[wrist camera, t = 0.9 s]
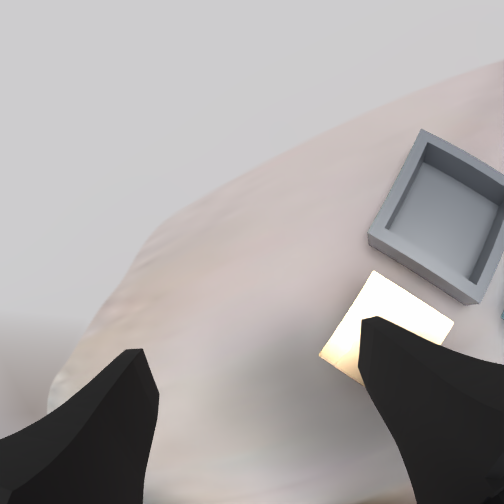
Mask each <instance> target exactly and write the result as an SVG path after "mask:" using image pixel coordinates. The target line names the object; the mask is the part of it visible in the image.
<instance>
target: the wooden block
mask: <svg viewBox="0 0 504 504" xmlns="http://www.w3.org/2000/svg"><path fill="white" fill-rule="evenodd" d="M374 316H380V317H382V318H384V319H386V320H389V321H391V322H393V323H395V324H397V325H399V326H401V327H403V328H405V329H407V330H409V331H411V332H413V333H415V334H417V335H419V336H421V337H423V338H425V339H427V340H429V341H431V342H434V343H436V344H438V345H441V344H442V342H443V340H444V339H445V337H446V335H447V334H448V332H449V330H450V329H451V327H452V325H453V323H454V322H453V321H451V320H450V319H448V318H447V317H445V316H444V315H442V314H441V313H439V312H438V311H436V310H435V309H433V308H432V307H430V306H428V305H427V304H425V303H424V302H422V301H421V300H419V299H418V298H416V297H415V296H413V295H411V294H410V293H408V292H407V291H405V290H404V289H402V288H400V287H399V286H397V285H396V284H394V283H393V282H391V281H389V280H388V279H386V278H385V277H383V276H381V275H380V274H378V273H376V272H375V271H373V272H372V274H371V276H370V277H369V279H368V281H367V282H366V284H365V285H364V287H363V289H362V290H361V292H360V294H359V295H358V297H357V298H356V300H355V302H354V303H353V305H352V306H351V308H350V309H349V311H348V312H347V314H346V316H345V317H344V319H343V320H342V322H341V323H340V325H339V326H338V328H337V329H336V331H335V332H334V334H333V335H332V337H331V338H330V339H329V341H328V342H327V344H326V345H325V347H324V348H323V349H322V351H321V352H320V354H319V356H320V357H321V358H323V359H324V360H326V361H327V362H329V363H330V364H332V365H333V366H335V367H336V368H337V369H339V370H340V371H342V372H343V373H345V374H346V375H348V376H349V377H351V378H352V379H354V380H355V381H357V382H358V383H360V384H361V385H363V386H364V387H365V385H364V382H363V380H362V377H361V374H360V372H359V369H358V358H359V346H360V332H361V319H365V318H370V317H374Z"/></svg>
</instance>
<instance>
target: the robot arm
mask: <svg viewBox="0 0 504 504" xmlns="http://www.w3.org/2000/svg"><path fill="white" fill-rule="evenodd" d="M358 369H359V372H360V374H361V377H362V380H363V382H364V385H365V387H366V389H367V392H368V393H369V395H370V397H371V399H372V401H373V402H374V404H375V406H376V408H377V409H378V411H379V413H380V415H381V416H382V418H383V420H384V422H385V423H386V425H387V427H388V429H389V430H390V432H391V434H392V436H393V438H394V440H395V442H396V444H397V446H398V448H399V451H400V453H401V456H402V458H403V461H404V464H405V466H406V469H407V472H408V475H409V478H410V481H411V484H412V487H413V490H414V494H415V497H416V501H417V504H504V365H502V364H497V363H492V362H488V361H484V360H480V359H477V358H473V357H470V356H467V355H464V354H461V353H458V352H455V351H453V350H450V349H448V348H445V347H443V346H440V345H438V344H436V343H434V342H431V341H429V340H427V339H425V338H423V337H421V336H419V335H417V334H415V333H413V332H411V331H409V330H407V329H405V328H403V327H401V326H399V325H397V324H395V323H393V322H391V321H389V320H386V319H384V318H382V317H380V316H374V317H370V318H365V319H361V332H360V346H359V358H358ZM158 405H159V392H158V389H157V386H156V384H155V381H154V379H153V376H152V373H151V370H150V368H149V365H148V362H147V359H146V357H145V354H144V351H143V349H126V350H125V351H124V352H122V353H121V354H120V355H119V356H118V357H116V358H115V359H114V360H113V361H112V362H111V363H110V364H109V365H108V366H107V367H105V368H104V369H103V370H102V371H101V372H100V373H99V374H98V375H97V376H96V377H95V378H93V379H92V380H91V381H90V382H89V383H88V384H87V385H86V386H84V387H83V388H82V389H81V390H80V391H78V392H77V393H76V394H75V395H74V396H72V397H71V398H70V399H69V400H68V401H66V402H65V403H64V404H62V405H61V406H60V407H58V408H57V409H56V410H54V411H53V412H51V413H50V414H48V415H47V416H45V417H44V418H42V419H40V420H39V421H37V422H35V423H33V424H31V425H30V426H28V427H26V428H24V429H22V430H21V431H18V432H16V433H14V434H12V435H10V436H7V437H5V438H3V439H0V504H143V488H144V478H145V472H146V467H147V462H148V458H149V453H150V449H151V444H152V440H153V436H154V431H155V427H156V422H157V416H158Z"/></svg>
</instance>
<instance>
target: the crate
mask: <svg viewBox="0 0 504 504" xmlns="http://www.w3.org/2000/svg"><path fill="white" fill-rule="evenodd" d="M367 233H368V241H369V245H371V246H372V247H374V248H376V249H377V250H379V251H381V252H382V253H384V254H386V255H387V256H389V257H391V258H392V259H394V260H396V261H397V262H399V263H400V264H402V265H404V266H405V267H407V268H409V269H410V270H412V271H413V272H415V273H416V274H418V275H420V276H421V277H423V278H424V279H426V280H428V281H429V282H431V283H432V284H434V285H435V286H437V287H438V288H440V289H441V290H443V291H444V292H446V293H448V294H449V295H451V296H452V297H454V298H455V299H457V300H458V301H460V302H461V303H462V304H464V305H472V304H480V303H481V301H482V299H483V297H484V294H485V292H486V290H487V288H488V286H489V284H490V282H491V279H492V277H493V275H494V273H495V270H496V268H497V266H498V263H499V261H500V258H501V256H502V253H503V251H504V175H503V174H501V173H500V172H498V171H497V170H495V169H494V168H492V167H490V166H489V165H487V164H486V163H484V162H482V161H481V160H479V159H477V158H476V157H474V156H472V155H470V154H469V153H467V152H465V151H463V150H462V149H460V148H458V147H456V146H454V145H452V144H451V143H449V142H447V141H445V140H443V139H441V138H439V137H437V136H435V135H433V134H431V133H429V132H427V131H425V130H423V129H421V130H420V132H419V134H418V136H417V138H416V141H415V143H414V145H413V147H412V149H411V151H410V153H409V155H408V157H407V159H406V161H405V163H404V165H403V167H402V169H401V171H400V173H399V175H398V177H397V179H396V181H395V183H394V185H393V187H392V189H391V190H390V192H389V194H388V196H387V198H386V200H385V202H384V204H383V205H382V207H381V209H380V211H379V213H378V214H377V216H376V218H375V220H374V222H373V223H372V225H371V227H370V229H369V231H368V232H367Z"/></svg>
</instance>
